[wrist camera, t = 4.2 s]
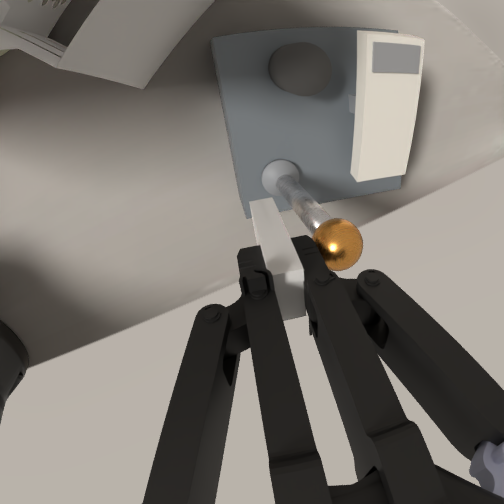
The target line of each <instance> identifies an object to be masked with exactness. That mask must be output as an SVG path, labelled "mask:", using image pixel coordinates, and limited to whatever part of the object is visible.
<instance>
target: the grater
mask: <svg viewBox="0 0 504 504" xmlns="http://www.w3.org/2000/svg"><path fill="white" fill-rule="evenodd" d="M70 1H71V0H67V1H66V2H65V3H64V4H62V5H61V2H62V0H60V2H59V4H58V5H57V6H56V7H55V8H53V5H54V3H55V2H56V0H54V1H53V2H52V1H51V0H48V2H47V3H46V4H45V5H43V6H42V2H43V0H32V1H31V2H29V3H28V0H0V27H1V28H3V29H6V30H8V31H10V32H12V33H14V34H17V35H19V36H21V37H23V38H25V39H27V40H29V41H31V42H33V43H35V44H37V45H39V46H41V47H43V48H45V49H47V50H49V51H51V52H53V53H55V54H57V55H59V56H61V57H62V58H60V57H58V56H56V55H54V54H52V53H50V52H48V51H46V50H44V49H42V48H40V47H38V46H36V45H34V44H32V43H30V42H28V41H26V40H24V39H22V38H20V37H18V36H16V35H14V34H12V33H9V32H7V31H5V30H3V29H1V28H0V50H5V49H20V50H22V51H24V52H26V53H28V54H30V55H32V56H34V57H36V58H38V59H40V60H42V61H44V62H45V63H47V64H49V65H51V66H53V67H55V68H59V69H64V70H68V71H73V72H78V73H82V74H86V75H91V76H95V77H99V78H103V79H107V80H111V81H114V82H118V83H122V84H125V85H129V86H133V87H136V88H139V89H143V90H144V88H145V87H146V85H147V84H148V82H149V81H150V79H151V78H152V77H153V75H154V74H155V73H156V71H157V70H158V68H159V67H160V66H161V64H162V63H163V62H164V60H165V59H166V58H167V56H168V55H169V54H170V53H171V51H172V50H173V49H174V47H175V46H176V45H177V44H178V42H179V41H180V40H181V39H182V38H183V36H184V35H185V34H186V33H187V32H188V30H189V29H190V28H191V27H192V26H193V25H194V23H195V22H196V21H197V20H198V19H199V18H200V17H201V15H202V14H203V13H204V12H205V11H206V10H207V9H208V8H209V7H210V6H211V4H212V3H213V2H214V1H215V0H100V1H99V2H98V3H97V5H96V6H95V7H94V9H93V10H92V11H91V13H90V14H89V16H88V17H87V19H86V20H85V21H84V23H83V24H82V26H81V27H80V29H79V30H78V32H77V33H76V35H75V36H74V38H73V40H72V41H71V43H70V44H69V46H68V47H66V46H64V45H62V44H60V43H58V42H56V41H54V40H52V39H50V38H48V35H49V34H50V32H51V30H52V29H53V27H54V25H55V24H56V22H57V21H58V19H59V18H60V16H61V15H62V13H63V12H64V10H65V9H66V7H67V6H68V4H69V3H70ZM17 30H18V31H17ZM20 31H21V32H20ZM22 32H24V33H22ZM25 33H27V34H29V35H31V36H29V35H27V34H25ZM32 36H33V37H32ZM34 37H36V38H38V39H40V40H42V41H44V42H46V43H48V44H50V45H52V46H54V47H56V48H58V49H60V50H62V51H64V52H65V53H64V52H62V51H60V50H58V49H56V48H54V47H52V46H50V45H48V44H46V43H44V42H42V41H40V40H38V39H36V38H34ZM47 39H48V40H47ZM49 40H50V41H49ZM51 41H52V42H51ZM53 42H54V43H53ZM56 43H57V44H56ZM58 44H59V45H58ZM60 45H61V46H60ZM62 46H63V47H62ZM64 47H65V48H64ZM66 48H67V49H66Z"/></svg>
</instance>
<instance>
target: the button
mask: <svg viewBox="0 0 504 504" xmlns="http://www.w3.org/2000/svg"><path fill="white" fill-rule="evenodd" d="M268 71H269V75H270V78H271V80H272V81H273V83H274V84H275V85H276V86H277V87H278V88H280V89H282V90H284V91H286V92H289V93H292V94H295V95H298V96H312V95H315V94H317V93H319V92H321V91H322V90H323V89H324V88H325V87H326V86H327V85H328V83H329V81H330V79H331V75H332V66H331V62H330V59H329V57H328V56H327V54H326V53H325V52H324V51H323V50H322V49H321V48H320V47H318V46H316V45H314V44H311V43H307V42H299V43H293V44H287V45H284V46H281V47H280V48H278V49H277V50H276V51H275V52H274V53H273V54H272V56H271V58H270V60H269V64H268Z"/></svg>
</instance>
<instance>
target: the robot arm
mask: <svg viewBox="0 0 504 504" xmlns="http://www.w3.org/2000/svg"><path fill="white" fill-rule="evenodd" d="M249 203H250V209H251V215H252V220H253V226H254V231H255V237H256V242H257V246H253V247H248V248H243V249H240V251H239V253H238V255H237V259H238V266H239V272H240V278H239V284H240V288H241V292H242V295H241V297H240V298H239V300H237V301H236V302H235V303H233V304H232V305H230V306H228V307H224V306H222V305H220V304H210V305H207V306H205V307H203V308H202V309H201V310H199V311H198V313H197V315H196V317H195V321H194V324H193V327H192V330H191V334H190V337H189V340H188V343H187V346H186V350H185V353H184V356H183V360H182V363H181V366H180V370H179V373H178V376H177V380H176V383H175V386H174V390H173V393H172V397H171V400H170V404H169V407H168V411H167V414H166V418H165V421H164V425H163V428H162V432H161V436H160V439H159V443H158V447H157V451H156V454H155V458H154V461H153V465H152V469H151V473H150V477H149V480H148V484H147V488H146V492H145V496H144V500H143V503H142V504H215V499H216V493H217V488H218V482H219V477H220V471H221V465H222V459H223V454H224V448H225V442H226V436H227V431H228V425H229V419H230V413H231V407H232V402H233V396H234V390H235V384H236V378H237V372H238V367H239V361H240V352H242V351H244V350H246V349H248V348H250V347H251V354H252V360H253V366H254V372H255V378H256V385H257V391H258V397H259V402H260V409H261V415H262V421H263V427H264V433H265V439H266V445H267V450H268V456H269V469H270V476H271V481H272V487H273V493H274V498H275V504H504V390H503V389H502V388H501V387H500V386H499V385H498V384H497V383H496V381H495V380H494V379H493V378H492V377H491V376H490V375H489V374H488V373H487V372H486V371H485V370H484V369H483V368H482V367H481V366H480V365H479V364H478V362H477V361H476V360H475V359H474V358H473V357H472V356H471V355H470V354H469V353H468V352H467V351H466V350H465V349H464V348H463V347H462V346H461V345H460V344H459V343H458V342H457V341H456V340H455V339H454V338H453V337H452V336H451V335H450V334H449V333H448V332H447V331H446V330H445V329H444V328H443V327H442V326H440V324H438V323H437V322H436V321H435V320H434V319H433V318H432V317H431V316H430V315H429V314H428V313H427V312H426V311H425V310H424V309H423V308H421V307H420V306H419V305H418V304H417V303H416V302H415V301H414V300H413V299H412V298H411V297H410V296H409V295H407V294H406V293H405V292H404V291H403V290H402V289H401V288H400V287H399V286H398V285H396V284H395V283H394V282H393V281H392V280H391V279H390V278H389V277H387V276H386V275H385V274H384V273H382V272H381V271H378V270H374V269H373V270H372V269H369V270H365V271H363V272H361V273H360V274H359V275H358V277H357V279H344V278H339V277H338V276H337V275H336V274H335V272H333V271H331V270H329V268H328V267H327V265H326V263H325V261H324V259H323V257H322V255H321V253H320V252H319V249H318V247H317V246H316V244H315V242H314V240H313V239H312V238H310V237H309V236H307V235H304V236H299V237H294V238H290V236H289V234H288V231H287V229H286V227H285V225H284V222H283V220H282V218H281V216H280V213H279V211H278V209H277V207H276V204H275V202H274V200H273V198H272V197H271V198H266V199H260V200H255V201H250V202H249ZM306 310H307V313H308V316H309V332H310V335H312V334H313V337H314V339H315V342H316V345H317V348H318V351H319V354H320V356H321V359H322V362H323V365H324V368H325V371H326V374H327V377H328V380H329V383H330V386H331V389H332V392H333V395H334V398H335V400H336V403H337V407H338V410H339V413H340V416H341V419H342V421H343V425H344V428H345V431H346V434H347V437H348V440H349V443H350V446H351V450H352V453H353V456H354V462H355V471H356V475H357V479H358V482H356V483H354V484H352V485H339V486H328V485H327V481H326V477H325V473H324V469H323V465H322V461H321V458H320V455H319V453H318V451H317V449H316V445H315V441H314V437H313V433H312V430H311V425H310V422H309V418H308V414H307V410H306V406H305V402H304V398H303V394H302V391H301V387H300V383H299V379H298V375H297V371H296V368H295V364H294V360H293V356H292V353H291V349H290V345H289V341H288V337H287V334H286V330H285V326H284V323H283V321H284V320H288V319H293V318H298V317H302V316H306ZM378 355H379V356H380V357H381V358H382V360H383V361H384V362H385V363H386V364H387V366H388V367H389V368H390V369H391V370H392V372H393V373H394V374H395V375H396V376H397V377H398V379H399V380H400V381H401V382H402V384H403V385H404V386H405V387H406V388H407V390H408V391H409V392H410V393H411V394H412V396H413V397H414V398H415V399H416V401H417V402H418V403H419V404H420V405H421V407H422V408H423V409H424V410H425V412H426V413H427V414H428V415H429V416H430V418H431V419H432V420H433V421H434V423H435V424H436V425H437V426H438V428H439V429H440V430H441V431H442V433H443V434H444V435H445V436H446V438H447V439H448V440H449V441H450V443H451V444H452V445H453V446H454V447H455V448H456V449H457V450H458V451H459V452H460V453H461V454H462V455H464V456H465V457H466V458H467V459H469V460H471V466H470V469H469V472H470V475H471V476H472V477H475V478H476V479H477V480H478V481H479V483H480V486H481V487H479V486H477V485H475V484H473V483H471V482H469V481H467V480H465V479H463V478H461V477H459V476H457V475H455V474H453V473H451V472H449V471H447V470H445V469H443V468H441V467H439V466H437V465H435V464H434V463H433V460H432V458H431V455H430V453H429V450H428V448H427V445H426V443H425V441H424V438H423V436H422V434H421V431H420V430H419V428H418V426H417V425H416V424H415V423H414V422H412V421H410V420H408V419H407V417H406V415H405V413H404V411H403V409H402V407H401V404H400V402H399V400H398V397H397V395H396V393H395V391H394V389H393V386H392V384H391V382H390V380H389V378H388V376H387V373H386V371H385V369H384V367H383V365H382V363H381V361H380V358H379V356H378ZM28 363H29V358H28V354H27V352H26V349H25V348H24V346H23V344H22V343H21V341H20V340H19V339H18V338H17V336H16V335H15V334H14V333H13V332H12V331H11V330H10V329H9V328H8V327H7V326H6V325H4V324H3V323H2V322H1V321H0V423H1V418H2V414H3V410H4V406H5V402H6V400H7V399H8V397H9V396H10V395H11V393H12V392H13V390H14V389H15V388H16V387H17V385H18V384H19V383H20V381H21V380H22V379H23V377H24V375H25V373H26V370H27V367H28Z"/></svg>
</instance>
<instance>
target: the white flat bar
mask: <svg viewBox="0 0 504 504" xmlns="http://www.w3.org/2000/svg"><path fill="white" fill-rule="evenodd" d="M424 40H425V39H422V38H420V37H417V36H414V35H408V34H399V33H389V32H377V31H360V30H357V80H356V105H355V122H354V137H353V150H352V161H351V172H350V173H351V175H352V176H353V177H354V179H355V180H356V181H357V182H361V181H367V180H373V179H379V178H385V177H392V176H398V175H405V172H406V168H407V163H408V158H409V153H410V148H411V143H412V137H413V132H414V126H415V120H416V113H417V107H418V100H419V92H420V84H421V75H422V65H423V54H424Z"/></svg>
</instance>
